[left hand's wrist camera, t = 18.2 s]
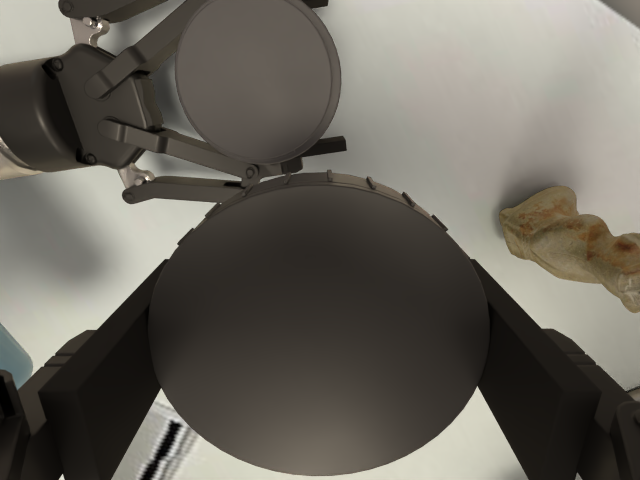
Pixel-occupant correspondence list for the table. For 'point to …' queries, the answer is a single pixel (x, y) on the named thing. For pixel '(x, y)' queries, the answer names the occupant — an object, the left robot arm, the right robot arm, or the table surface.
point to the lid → (318, 325)
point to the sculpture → (573, 244)
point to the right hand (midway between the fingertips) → (336, 73)
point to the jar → (258, 77)
